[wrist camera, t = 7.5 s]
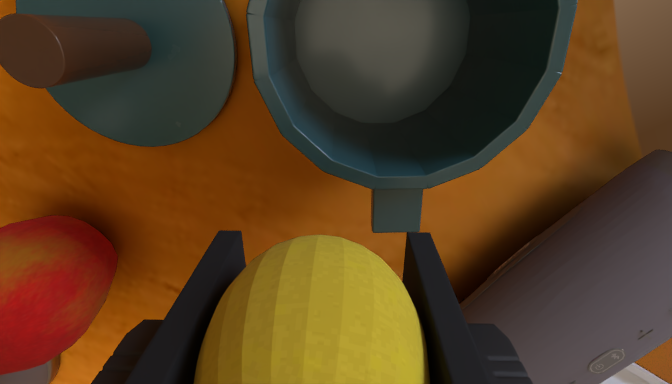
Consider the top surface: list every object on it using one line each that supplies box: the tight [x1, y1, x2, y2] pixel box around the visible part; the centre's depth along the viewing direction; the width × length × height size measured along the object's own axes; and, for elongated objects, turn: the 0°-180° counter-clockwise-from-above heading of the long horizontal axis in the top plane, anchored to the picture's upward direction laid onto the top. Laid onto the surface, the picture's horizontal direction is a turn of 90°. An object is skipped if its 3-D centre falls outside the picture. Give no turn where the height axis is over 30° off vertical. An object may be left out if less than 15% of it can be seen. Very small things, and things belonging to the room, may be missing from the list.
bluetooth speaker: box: [459, 150, 672, 384], centre depth 26 cm, size 23×9×10 cm, turn 142°
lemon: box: [194, 235, 430, 384], centre depth 9 cm, size 6×6×8 cm
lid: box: [0, 0, 237, 147], centre depth 20 cm, size 13×13×9 cm
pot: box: [246, 0, 577, 233], centre depth 19 cm, size 12×18×10 cm
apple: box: [0, 215, 118, 375], centre depth 25 cm, size 9×9×12 cm
